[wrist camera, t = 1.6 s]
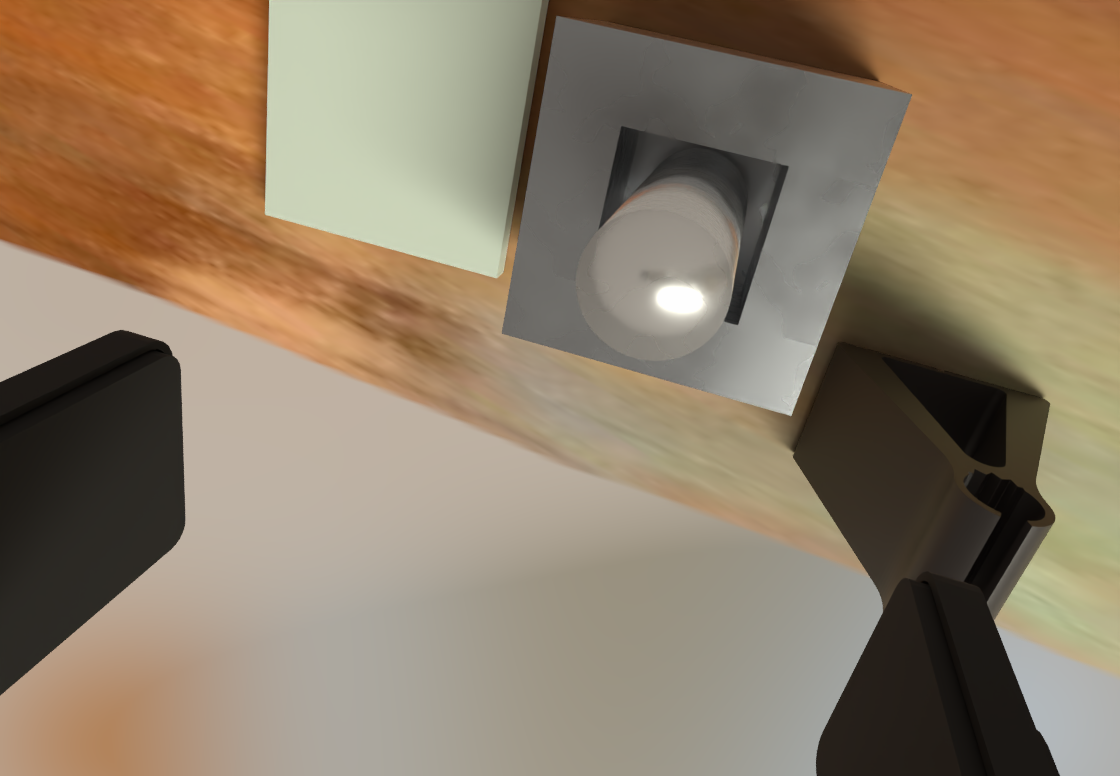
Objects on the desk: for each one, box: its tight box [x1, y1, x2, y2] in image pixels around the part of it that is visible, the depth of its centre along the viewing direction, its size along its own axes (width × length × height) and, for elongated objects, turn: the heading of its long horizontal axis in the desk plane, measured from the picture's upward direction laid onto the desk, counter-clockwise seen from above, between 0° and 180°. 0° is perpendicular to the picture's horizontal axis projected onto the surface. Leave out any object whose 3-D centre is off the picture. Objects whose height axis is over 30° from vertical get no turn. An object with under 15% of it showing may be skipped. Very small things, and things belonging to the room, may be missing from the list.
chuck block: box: [502, 16, 912, 416], centre depth 29 cm, size 11×11×8 cm
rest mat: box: [265, 0, 549, 278], centre depth 35 cm, size 12×12×1 cm
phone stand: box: [793, 342, 1055, 620], centre depth 30 cm, size 9×6×12 cm, turn 77°
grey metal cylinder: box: [576, 148, 748, 361], centre depth 25 cm, size 4×4×12 cm
